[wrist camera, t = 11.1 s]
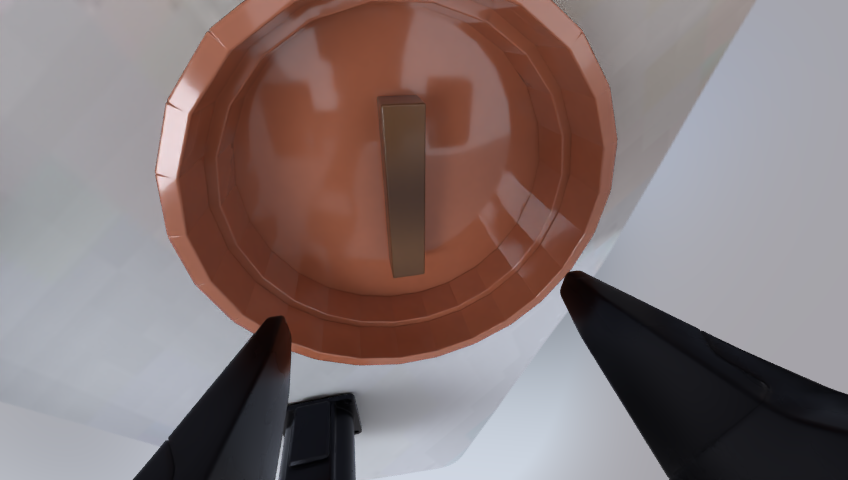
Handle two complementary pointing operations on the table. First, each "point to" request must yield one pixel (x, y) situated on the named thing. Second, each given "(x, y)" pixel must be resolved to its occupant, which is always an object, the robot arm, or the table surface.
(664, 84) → the table surface
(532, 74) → the bowl
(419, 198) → the brown long rectangular block
